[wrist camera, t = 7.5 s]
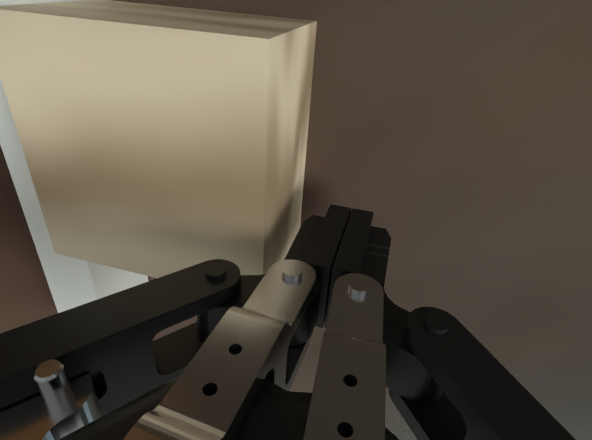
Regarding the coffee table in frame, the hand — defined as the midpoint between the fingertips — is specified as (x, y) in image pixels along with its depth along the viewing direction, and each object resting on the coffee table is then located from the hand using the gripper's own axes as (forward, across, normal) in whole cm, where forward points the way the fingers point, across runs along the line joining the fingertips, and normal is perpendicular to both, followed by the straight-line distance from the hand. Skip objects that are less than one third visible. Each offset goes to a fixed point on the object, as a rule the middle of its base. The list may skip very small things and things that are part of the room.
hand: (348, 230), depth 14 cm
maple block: (+2, +6, -2) cm, 7 cm away
